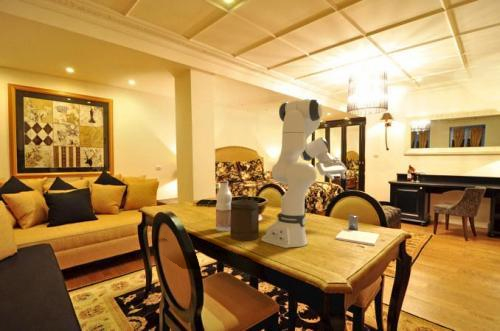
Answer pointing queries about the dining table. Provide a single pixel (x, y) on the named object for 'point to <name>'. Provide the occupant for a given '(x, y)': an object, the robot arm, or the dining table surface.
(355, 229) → the steel tin
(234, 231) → the wooden container
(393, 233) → the dining table surface
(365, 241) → the cream board
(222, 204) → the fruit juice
